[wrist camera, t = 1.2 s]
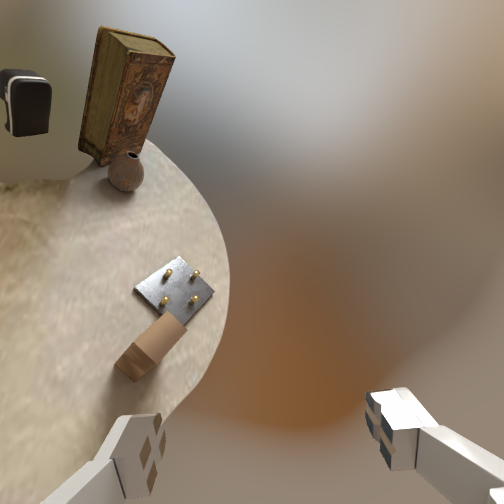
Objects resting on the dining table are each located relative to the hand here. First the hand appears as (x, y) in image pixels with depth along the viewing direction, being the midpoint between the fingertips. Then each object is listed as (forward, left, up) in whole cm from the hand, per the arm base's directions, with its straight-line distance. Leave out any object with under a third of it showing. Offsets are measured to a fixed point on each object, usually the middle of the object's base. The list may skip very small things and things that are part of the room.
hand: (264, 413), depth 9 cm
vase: (-36, +33, -33) cm, 59 cm away
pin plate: (-9, +23, -33) cm, 41 cm away
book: (-46, +39, -33) cm, 69 cm away
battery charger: (-54, +25, -33) cm, 68 cm away
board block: (-5, +10, -33) cm, 35 cm away
